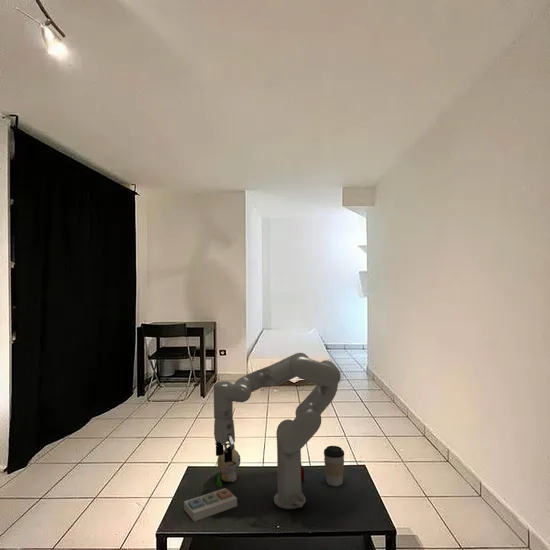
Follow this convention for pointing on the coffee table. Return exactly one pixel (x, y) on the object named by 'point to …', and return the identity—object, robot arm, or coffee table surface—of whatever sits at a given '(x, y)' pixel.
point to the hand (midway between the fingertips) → (223, 457)
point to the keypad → (210, 507)
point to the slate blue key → (195, 503)
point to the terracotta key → (224, 494)
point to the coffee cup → (334, 465)
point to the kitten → (228, 467)
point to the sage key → (210, 498)
